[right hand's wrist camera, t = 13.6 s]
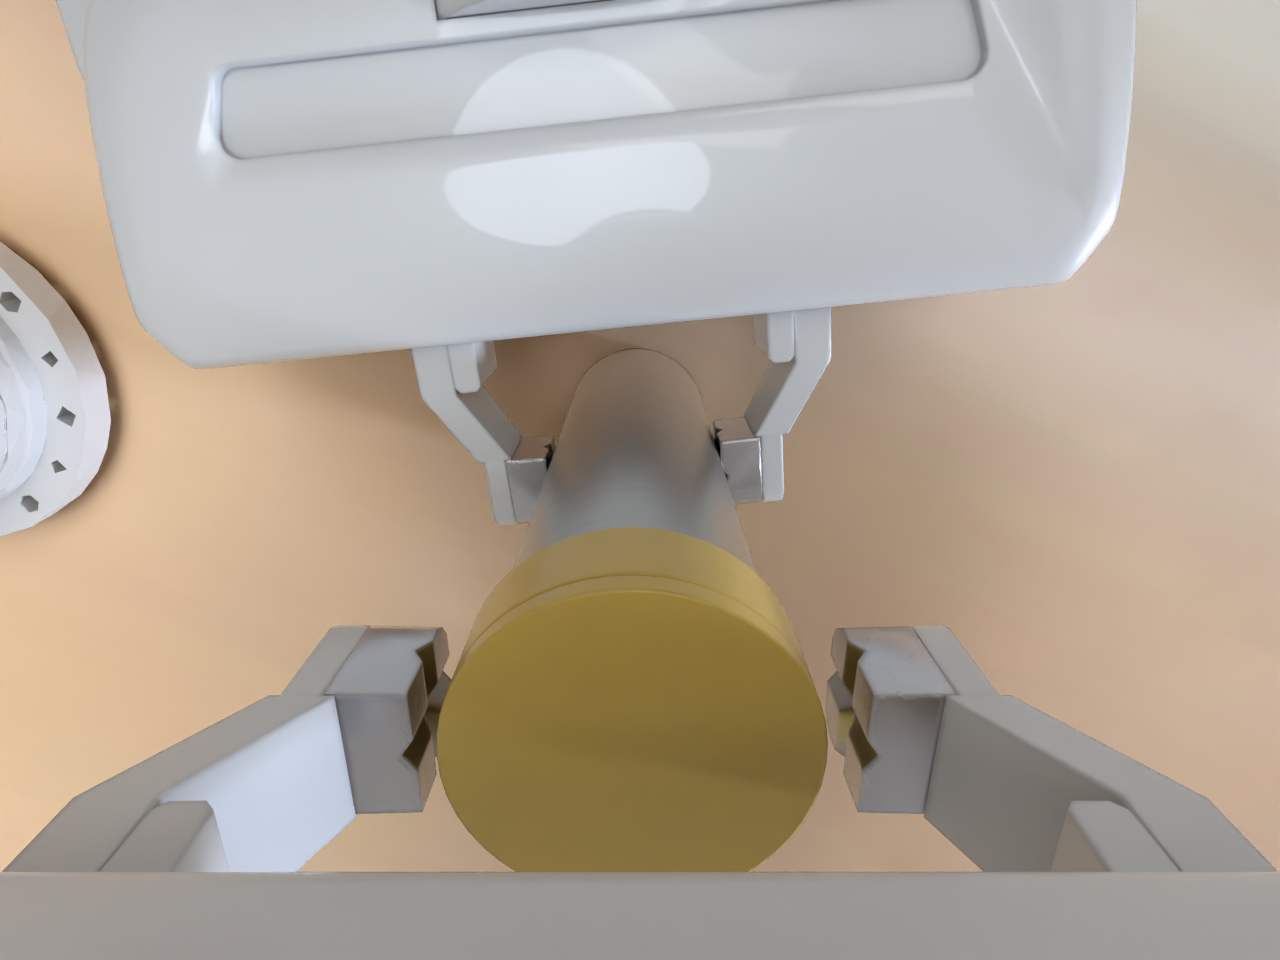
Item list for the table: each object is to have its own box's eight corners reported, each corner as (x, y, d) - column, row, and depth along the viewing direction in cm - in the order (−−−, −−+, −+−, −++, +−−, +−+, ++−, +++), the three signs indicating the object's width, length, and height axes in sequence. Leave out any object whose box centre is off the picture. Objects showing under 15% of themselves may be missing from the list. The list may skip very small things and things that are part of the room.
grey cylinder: (581, 338, 22) (479, 564, 8) (713, 360, 22) (837, 616, 8) (564, 464, 24) (452, 840, 10) (688, 483, 24) (758, 877, 10)
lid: (482, 499, 9) (449, 560, 8) (836, 553, 9) (875, 622, 8) (455, 782, 11) (423, 880, 9) (758, 821, 11) (777, 923, 9)
